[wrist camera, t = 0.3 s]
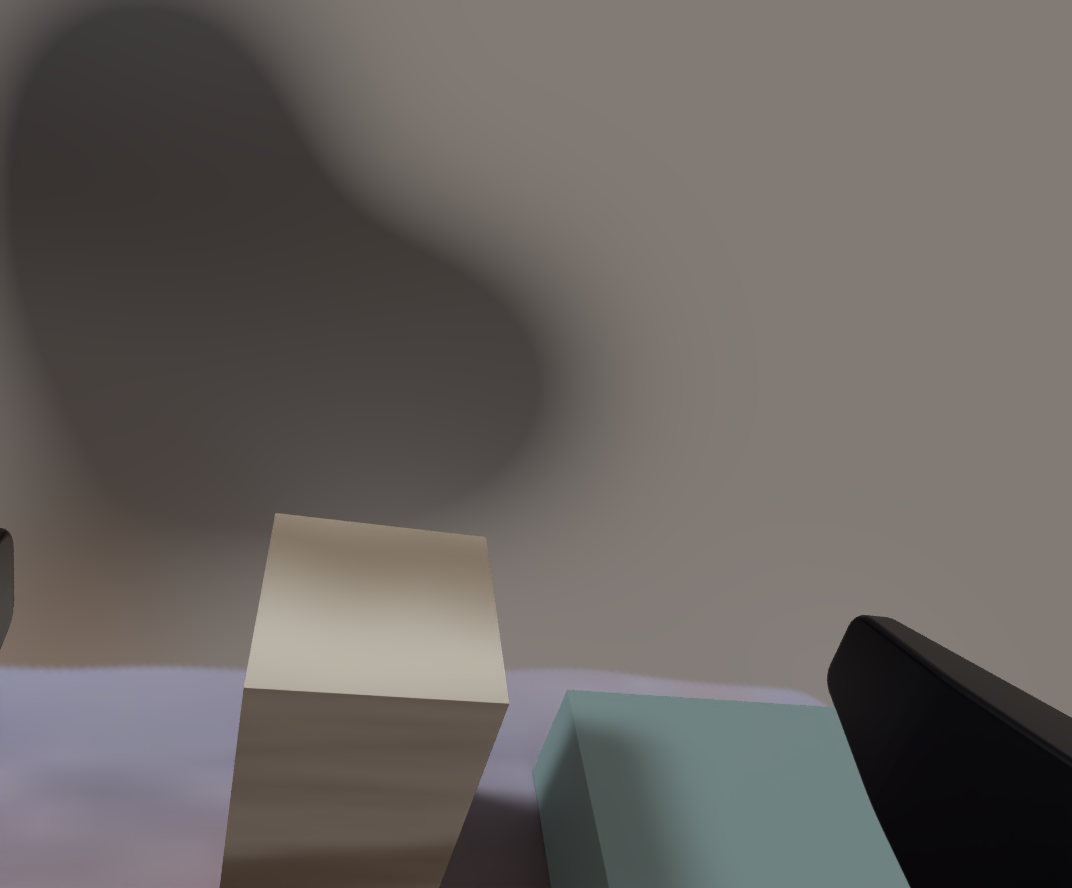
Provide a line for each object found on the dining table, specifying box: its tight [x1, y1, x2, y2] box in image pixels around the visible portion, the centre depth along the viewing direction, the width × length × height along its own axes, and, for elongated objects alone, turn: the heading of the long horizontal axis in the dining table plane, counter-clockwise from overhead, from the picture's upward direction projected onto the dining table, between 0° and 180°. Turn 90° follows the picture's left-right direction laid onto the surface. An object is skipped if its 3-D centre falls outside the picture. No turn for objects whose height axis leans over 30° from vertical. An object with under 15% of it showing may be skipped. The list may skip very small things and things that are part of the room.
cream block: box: [220, 513, 509, 888], centre depth 20 cm, size 5×5×10 cm
